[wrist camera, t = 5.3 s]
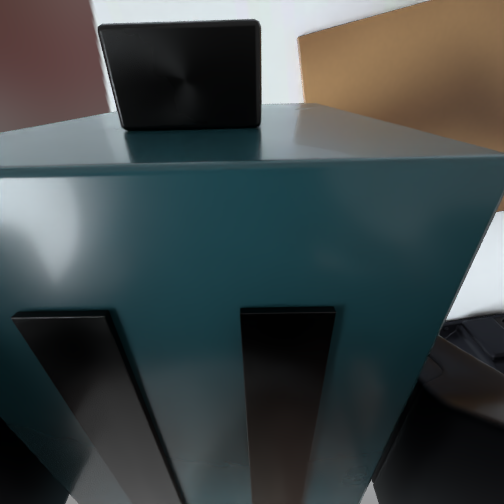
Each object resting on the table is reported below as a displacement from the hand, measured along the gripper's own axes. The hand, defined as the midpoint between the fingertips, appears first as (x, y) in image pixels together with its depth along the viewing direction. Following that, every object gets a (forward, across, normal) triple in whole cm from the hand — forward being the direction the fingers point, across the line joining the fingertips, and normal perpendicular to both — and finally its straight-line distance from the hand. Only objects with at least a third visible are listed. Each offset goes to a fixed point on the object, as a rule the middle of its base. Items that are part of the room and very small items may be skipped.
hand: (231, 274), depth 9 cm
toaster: (+2, 0, 0) cm, 2 cm away
